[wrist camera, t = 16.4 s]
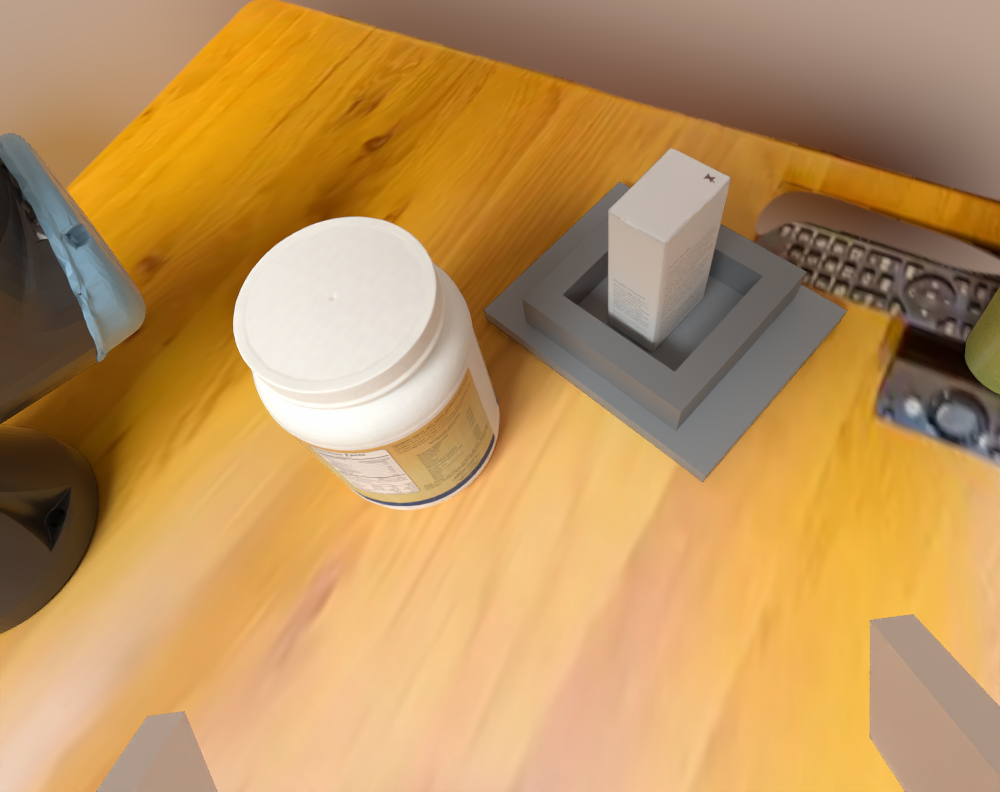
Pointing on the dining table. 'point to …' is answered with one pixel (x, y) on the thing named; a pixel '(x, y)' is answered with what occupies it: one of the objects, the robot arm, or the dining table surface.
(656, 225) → the skincare box
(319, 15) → the dining table surface
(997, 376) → the plant pot
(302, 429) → the supplement tub
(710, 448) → the slate stand
